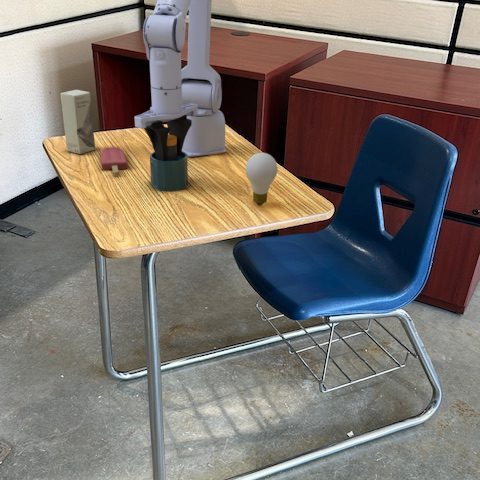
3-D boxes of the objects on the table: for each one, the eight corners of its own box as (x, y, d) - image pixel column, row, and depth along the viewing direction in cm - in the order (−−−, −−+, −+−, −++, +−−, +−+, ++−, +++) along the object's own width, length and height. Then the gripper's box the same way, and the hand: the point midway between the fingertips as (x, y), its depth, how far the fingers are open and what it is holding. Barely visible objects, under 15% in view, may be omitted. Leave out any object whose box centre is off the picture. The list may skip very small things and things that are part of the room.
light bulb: (239, 207, 114) (241, 155, 109) (250, 196, 119) (252, 146, 113) (269, 213, 113) (272, 160, 107) (278, 201, 117) (282, 151, 112)
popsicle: (102, 170, 124) (99, 147, 137) (103, 177, 125) (99, 154, 137) (128, 168, 126) (122, 146, 138) (129, 175, 126) (123, 153, 139)
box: (80, 155, 136) (73, 96, 129) (66, 151, 138) (58, 93, 131) (96, 149, 140) (90, 91, 133) (82, 145, 142) (76, 88, 135)
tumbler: (179, 175, 127) (179, 147, 124) (193, 187, 122) (193, 158, 119) (146, 180, 125) (144, 152, 121) (158, 193, 119) (157, 163, 116)
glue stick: (169, 163, 123) (168, 133, 120) (181, 167, 121) (180, 137, 118) (157, 167, 121) (155, 137, 118) (168, 171, 119) (167, 141, 116)
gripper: (179, 77, 119) (181, 145, 127) (121, 88, 110) (127, 161, 118) (205, 83, 116) (205, 153, 123) (147, 95, 107) (151, 170, 114)
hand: (168, 157), depth 120 cm, fingers closed on glue stick, 3 cm apart
